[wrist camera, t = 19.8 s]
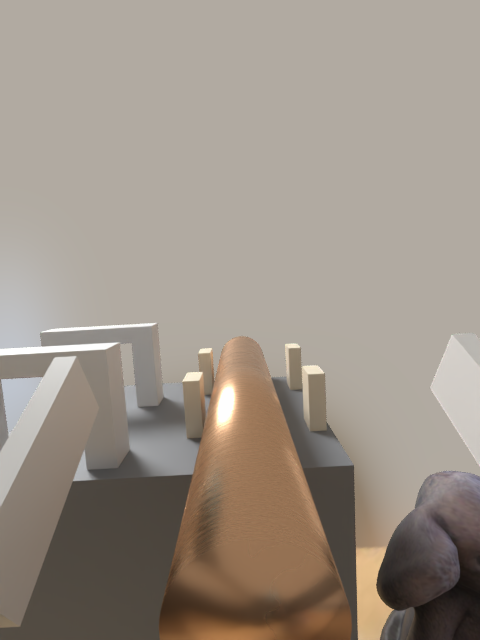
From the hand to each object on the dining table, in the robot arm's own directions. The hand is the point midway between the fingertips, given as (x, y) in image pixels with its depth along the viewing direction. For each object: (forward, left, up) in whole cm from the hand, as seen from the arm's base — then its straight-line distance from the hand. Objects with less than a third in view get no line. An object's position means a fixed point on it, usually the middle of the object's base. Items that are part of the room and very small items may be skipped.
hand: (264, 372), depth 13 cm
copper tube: (-1, +7, -6) cm, 9 cm away
